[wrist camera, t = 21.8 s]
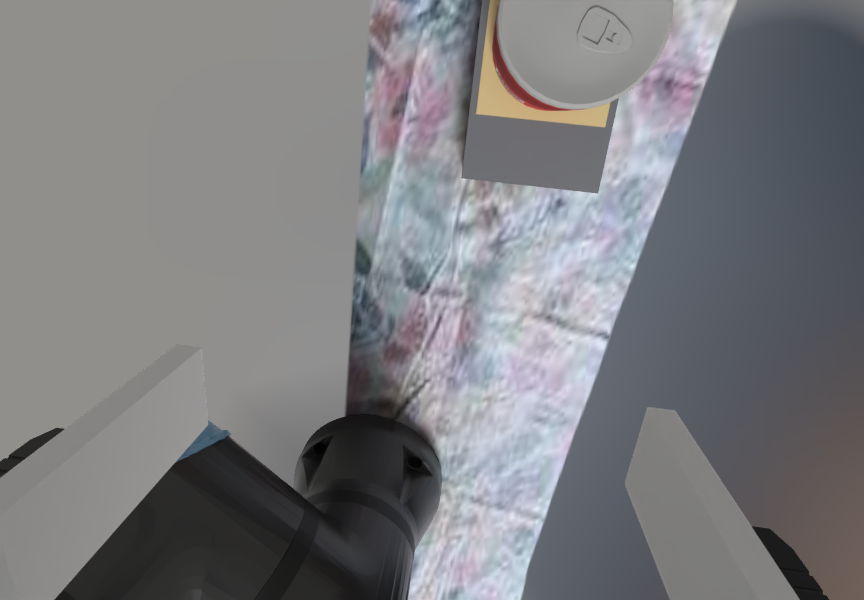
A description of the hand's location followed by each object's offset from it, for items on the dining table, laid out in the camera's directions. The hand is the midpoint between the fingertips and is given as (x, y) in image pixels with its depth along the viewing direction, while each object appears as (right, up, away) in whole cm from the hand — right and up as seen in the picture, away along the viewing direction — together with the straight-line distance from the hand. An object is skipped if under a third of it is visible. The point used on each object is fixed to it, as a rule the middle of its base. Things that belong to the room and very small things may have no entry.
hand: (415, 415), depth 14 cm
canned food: (+8, +20, +18) cm, 28 cm away
